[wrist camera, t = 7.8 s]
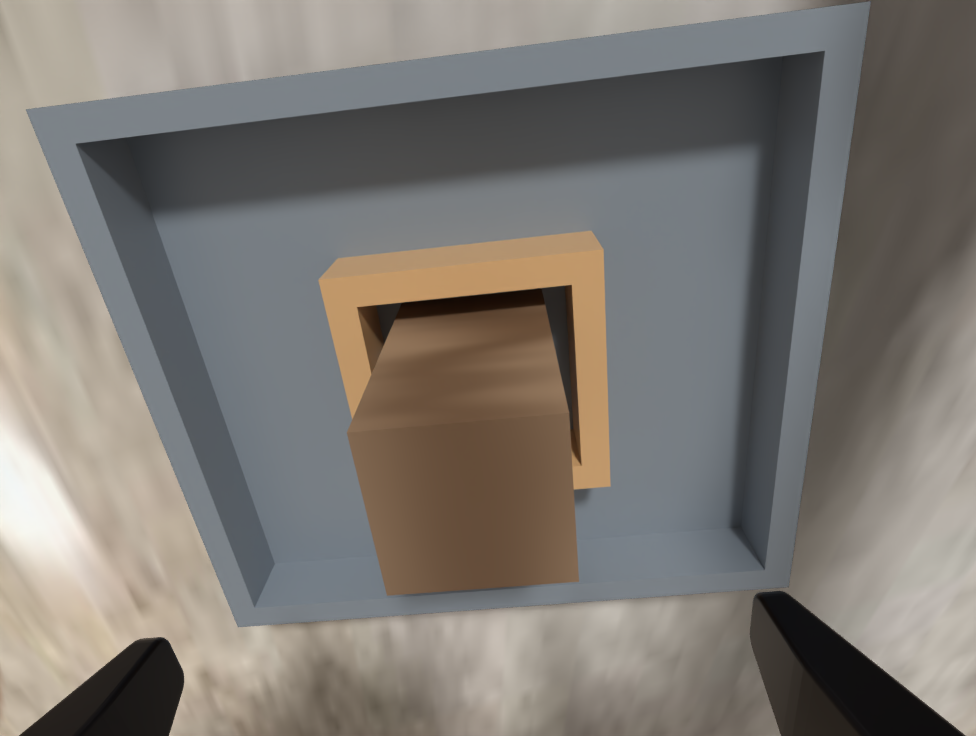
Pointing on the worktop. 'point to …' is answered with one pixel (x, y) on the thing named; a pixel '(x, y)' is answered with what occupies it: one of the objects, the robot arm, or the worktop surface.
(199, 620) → the worktop surface
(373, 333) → the box
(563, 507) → the brown rectangular block
